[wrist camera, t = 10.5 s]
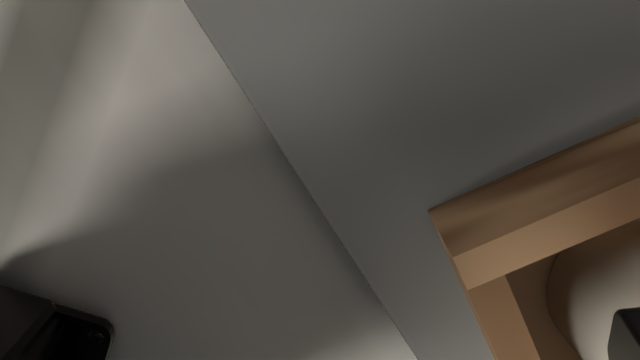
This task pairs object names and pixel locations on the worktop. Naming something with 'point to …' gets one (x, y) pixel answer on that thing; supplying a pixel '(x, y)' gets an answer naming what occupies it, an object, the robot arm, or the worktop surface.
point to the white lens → (595, 288)
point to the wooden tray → (536, 235)
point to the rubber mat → (424, 118)
